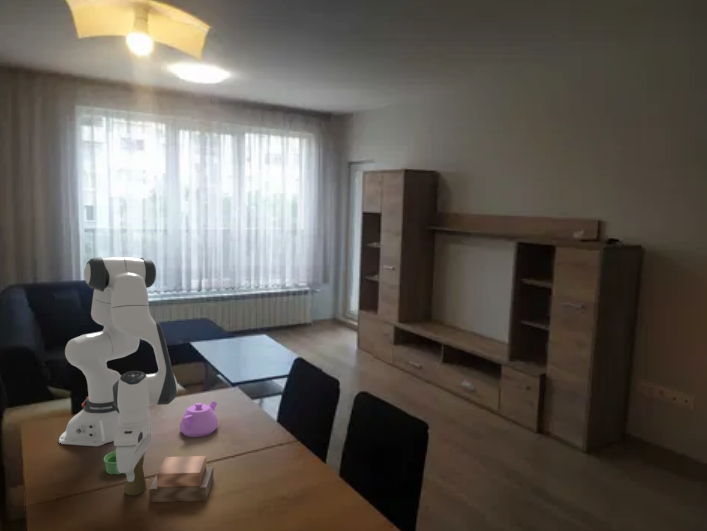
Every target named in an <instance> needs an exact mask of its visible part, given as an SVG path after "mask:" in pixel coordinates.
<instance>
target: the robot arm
mask: <svg viewBox="0 0 707 531" xmlns="http://www.w3.org/2000/svg"><path fill="white" fill-rule="evenodd" d="M156 268H157V267H156V265H155V263H154V262H153V261H152V259H149V258H144V257H140V258H138V257H130V256H111V257H101V256H99V257H94V258H89V260H88V261H87V262H86V265H85V267H84V271H83V278H84V280H85V284H86V285H87V286H88V287H89V288H90V289H93V293H92V300H91V301H92V302H91V309H90V310H91V311H90V315H91V319H92V320H93V322H95V323H96V324H98V325H101V326H102V327H103V329H102V330H101V331H100V330H99V331H96V332H91V333H85V334H81V335H80V336H79V335H78V336H76V337H74V338H71V339H70V340H68V341H67V343H66V346H65V348H64V355H65V358H66V360H67V362H68V363H70V365H72V366H74V367H76V368H77V369H79V370H80V371H82V372H81V373H82V374H83V375H84V376H85V379H86V384H87V392H88V393H87V394H88V396H86V397H85V398H86V399H84V401H83V403H81V407H82V409H81V410H80V411H79V412H78V413H77V414H75V415H74V416H73V417H72V418H71V419H69V421H68V423H67V425H66V429H65V431H63V432H62V434H61V435H60V436H59V439H58V443H59V444H60V443H61V444H60V445H73V446H84V447H85V446H87V447H99V446H103V445H104V444H107V443H111V442H113V446H114V447H116V448H115V451H116V461H117V469H118V471H119V473H122V474H125V476H126V475H127V481H128V482H132V481H134V479H135V473H134V471H133V470H134V468H135V466H136V465H137V463H138V461H139V460H140V458H141V457H142V455H143V456H144V462H143V464H142V466H143V465H144V464H145V463H146V453H147V449H148V447H149V446H150V444H151V442H152V420H151V418H152V417H151V412H150V406H155V405H156V406H163V405H169V404H170V403H172V402H173V401H174V400H175V399H176V398H177V396H178V391H179V388H178V381H177V378H176V376H175V374H174V370H173V367H172V363H171V359H170V354H169V351H168V346H167V341H166V338H165V334H164V331H163V329H162V326H161V325H162V324H160V322H159V321H156V320H155V319H154V318H153V316H152V315H151V313H150V306H149V305H150V304H149V302H150V300H149V295H148V294H149V293H148V289H149V288H151V287H152V286H153V285H154V284H155V282H156V278H157V269H156ZM140 340H143V341H145V342H147V343H148V344H149V345H150V346H151V347H152V348H153V352H154V355H155V361H156V365H157V368H158V370H157V372H154V373H145V372H143V371H139V370H131V371H126V372H125V373H123V374H120V372H118V371H117V370H113V369H112V368H108V365H107V363H108V361H112V360H113V361H114V360H116V359H121V358H125V357H127V356H129V355H131V354H133V353H136V352H137V351H138V349H139V346H140Z"/></svg>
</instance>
